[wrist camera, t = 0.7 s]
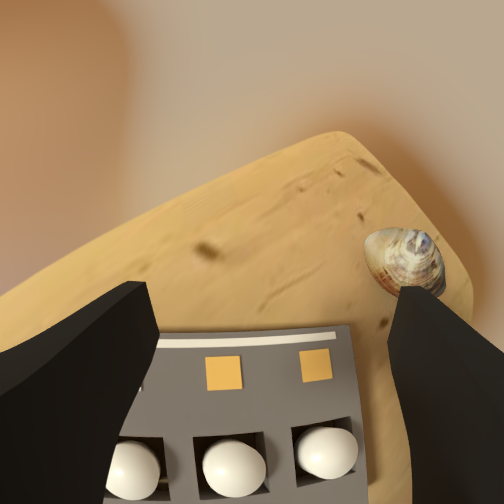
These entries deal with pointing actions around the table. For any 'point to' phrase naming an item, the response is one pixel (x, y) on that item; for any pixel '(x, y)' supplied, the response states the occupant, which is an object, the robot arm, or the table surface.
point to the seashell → (405, 260)
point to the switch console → (250, 409)
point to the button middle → (233, 468)
